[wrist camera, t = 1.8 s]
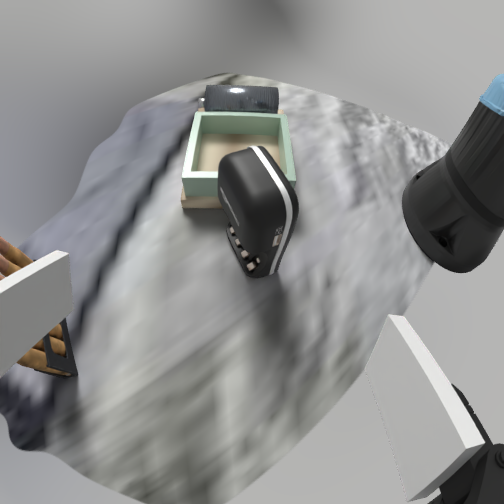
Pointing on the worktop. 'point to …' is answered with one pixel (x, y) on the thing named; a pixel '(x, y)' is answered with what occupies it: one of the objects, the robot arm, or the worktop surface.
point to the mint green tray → (232, 137)
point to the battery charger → (257, 208)
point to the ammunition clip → (54, 342)
